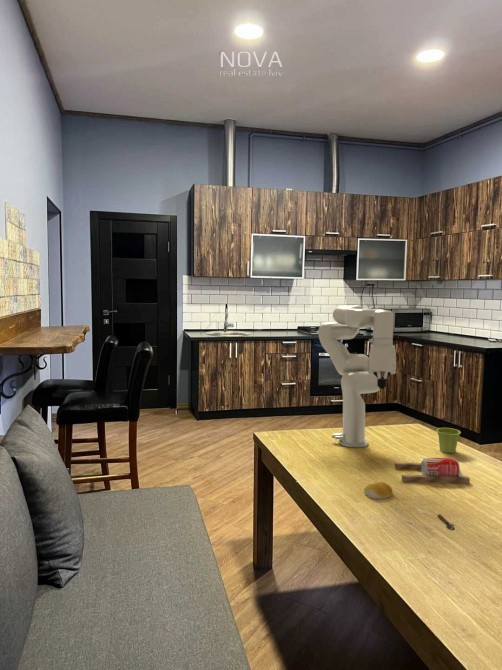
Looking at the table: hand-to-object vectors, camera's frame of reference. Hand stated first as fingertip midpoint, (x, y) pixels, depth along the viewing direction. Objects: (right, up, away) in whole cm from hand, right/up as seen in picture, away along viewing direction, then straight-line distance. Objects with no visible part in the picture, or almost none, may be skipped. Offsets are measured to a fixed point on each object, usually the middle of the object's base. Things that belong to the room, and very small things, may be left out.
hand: (381, 388), depth 201 cm
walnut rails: (+14, -30, -14) cm, 36 cm away
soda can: (+10, -27, -17) cm, 33 cm away
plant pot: (+31, -28, +13) cm, 43 cm away
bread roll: (-9, -33, -31) cm, 46 cm away
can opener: (+6, -35, -51) cm, 62 cm away
